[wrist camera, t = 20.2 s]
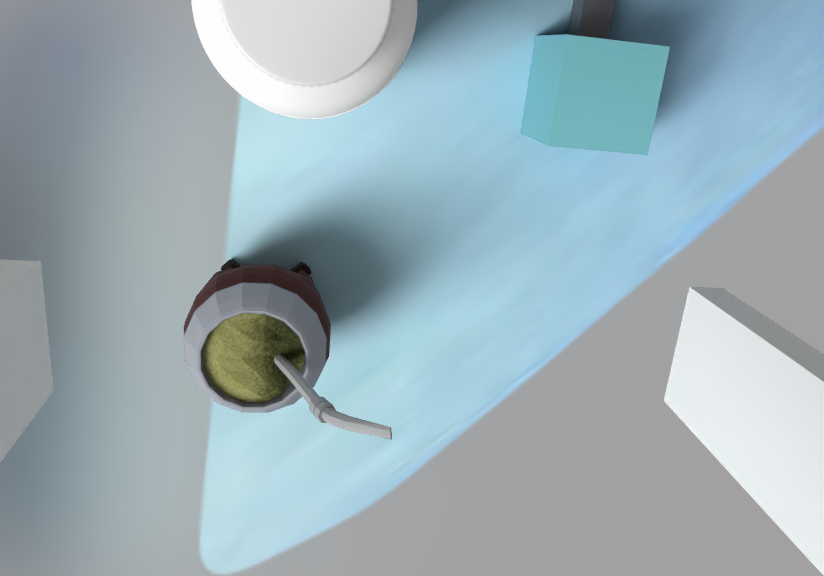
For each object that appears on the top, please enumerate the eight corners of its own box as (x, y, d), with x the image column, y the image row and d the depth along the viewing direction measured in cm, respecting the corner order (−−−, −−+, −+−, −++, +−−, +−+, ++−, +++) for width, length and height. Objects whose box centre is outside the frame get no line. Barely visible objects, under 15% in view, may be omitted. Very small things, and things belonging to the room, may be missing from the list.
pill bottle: (404, -53, 35) (460, -118, 21) (376, 113, 37) (408, 156, 23) (239, -90, 33) (178, -188, 19) (221, 84, 36) (154, 111, 22)
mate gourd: (174, 298, 39) (91, 442, 25) (279, 204, 38) (253, 298, 24) (271, 386, 41) (244, 563, 27) (371, 299, 40) (398, 436, 26)
